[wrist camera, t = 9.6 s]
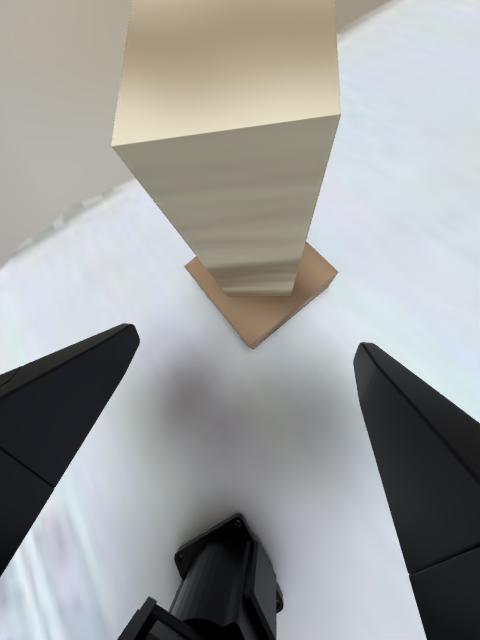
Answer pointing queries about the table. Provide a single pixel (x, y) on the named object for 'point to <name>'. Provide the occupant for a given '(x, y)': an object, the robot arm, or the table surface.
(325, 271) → the walnut block
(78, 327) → the table surface
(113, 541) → the table surface
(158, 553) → the table surface
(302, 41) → the oak post
